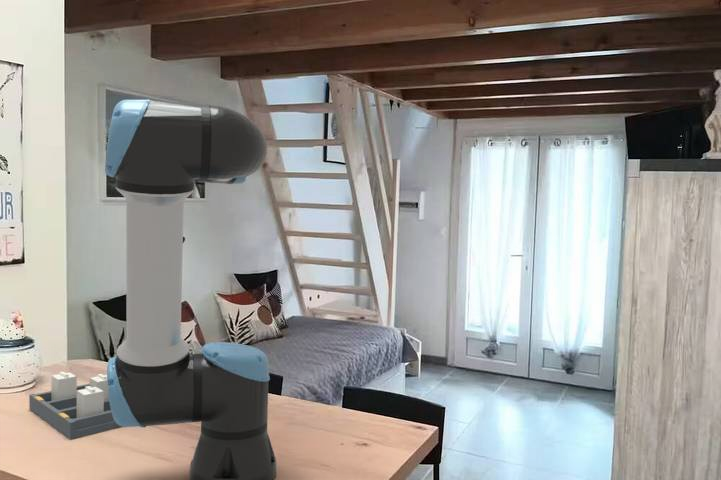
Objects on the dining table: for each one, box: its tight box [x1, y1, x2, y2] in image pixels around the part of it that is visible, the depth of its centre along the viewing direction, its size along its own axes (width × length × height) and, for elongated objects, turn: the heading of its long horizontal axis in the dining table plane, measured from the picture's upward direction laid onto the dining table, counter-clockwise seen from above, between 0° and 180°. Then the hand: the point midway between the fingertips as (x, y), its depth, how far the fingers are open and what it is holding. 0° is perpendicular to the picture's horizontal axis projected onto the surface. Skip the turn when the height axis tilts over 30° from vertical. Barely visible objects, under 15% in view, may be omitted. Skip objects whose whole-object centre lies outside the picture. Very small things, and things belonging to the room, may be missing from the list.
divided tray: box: [28, 383, 123, 440], centre depth 136 cm, size 23×15×4 cm, turn 47°
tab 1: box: [77, 386, 104, 418], centre depth 130 cm, size 4×4×7 cm
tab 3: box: [50, 371, 78, 401], centre depth 139 cm, size 4×4×7 cm
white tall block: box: [89, 373, 109, 401], centre depth 139 cm, size 4×4×7 cm
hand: (157, 307), depth 143 cm, fingers closed
